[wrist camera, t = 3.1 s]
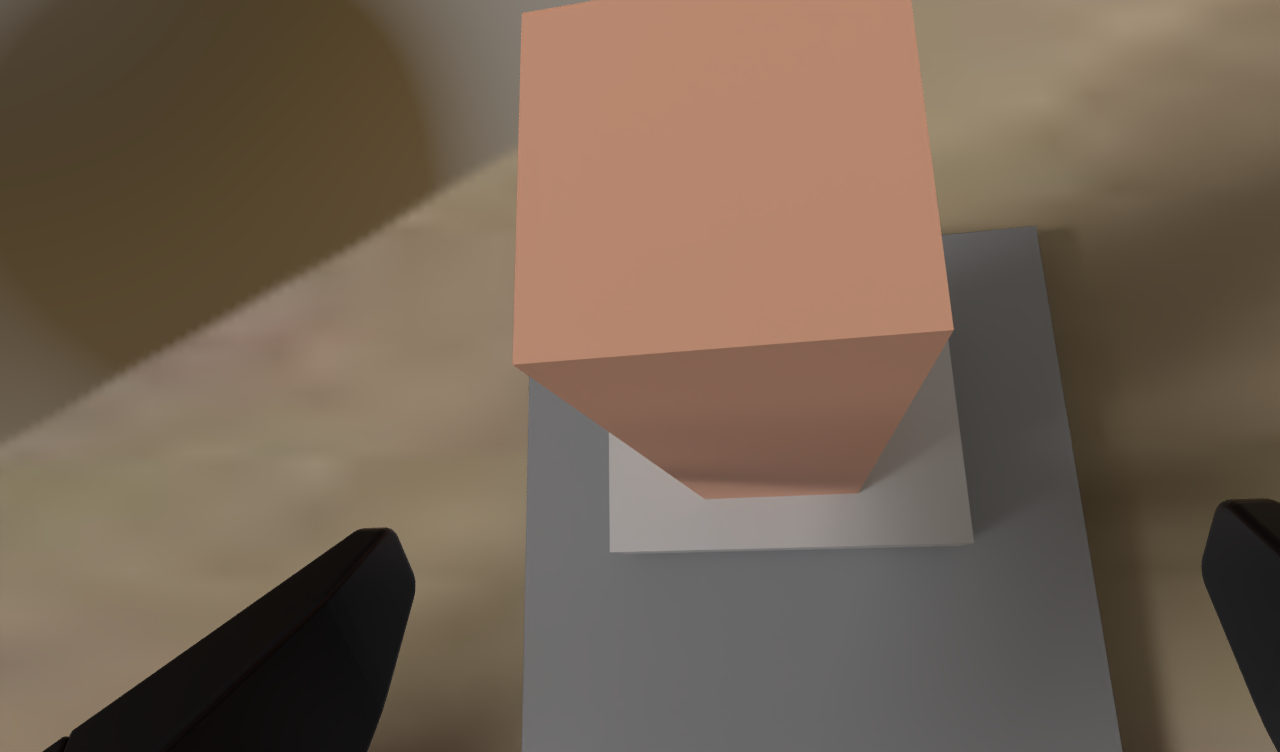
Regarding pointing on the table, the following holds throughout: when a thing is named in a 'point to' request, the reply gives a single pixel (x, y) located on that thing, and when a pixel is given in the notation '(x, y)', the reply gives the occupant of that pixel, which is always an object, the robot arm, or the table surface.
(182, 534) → the table surface
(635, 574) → the track board
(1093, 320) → the table surface
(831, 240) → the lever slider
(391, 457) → the table surface
